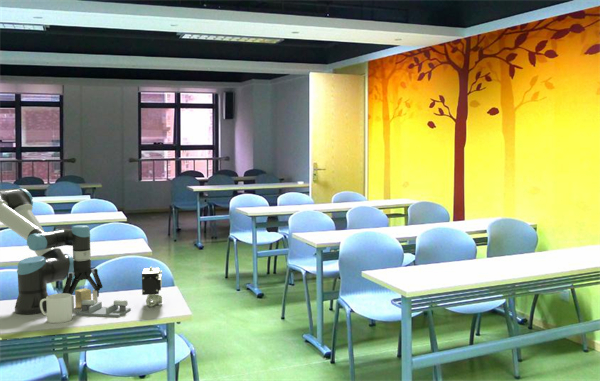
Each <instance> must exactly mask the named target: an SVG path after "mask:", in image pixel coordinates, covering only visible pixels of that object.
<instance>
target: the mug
mask: <svg viewBox="0 0 600 381" xmlns="http://www.w3.org/2000/svg"><path fill="white" fill-rule="evenodd" d="M72 295H73V294H72ZM72 295H71V294H68V293H63V292H62V293H54V294H50V295H49V294H48V296H47V297H46V299H42V300H41V301H40V309H41V313H42V315H44V316H46V321H47V323H49V324H63V323H67V322H70V321H72V319H73V310H72ZM43 301H46V306H47V311H45V312H44V310H43V307H42V303H43Z"/></svg>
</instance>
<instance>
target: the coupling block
mask: <svg viewBox="0 0 600 381" xmlns="http://www.w3.org/2000/svg"><path fill="white" fill-rule="evenodd" d="M74 294H75V295H74V297H75V299H74V300H75V301H74V302H75V308H76V309H78V310H81V306H83V305H82V304H81V302H82V300H92V290H91V289H89V288H86V287H84V288H81V289H80V288H79V289H75V290H74Z"/></svg>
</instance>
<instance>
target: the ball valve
mask: <svg viewBox="0 0 600 381" xmlns="http://www.w3.org/2000/svg"><path fill="white" fill-rule="evenodd" d="M162 275H163V270H160V267H153V266H150V267H143V270H142V273H141V293H142V294H141V295H142V296H146V295H147V297H146V299H145V303H146V306H148V307H155V306H156V305H157V306H159V305H161V304H162V303H163V295H160V291H161V290H162V285H163V276H162Z"/></svg>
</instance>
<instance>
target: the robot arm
mask: <svg viewBox="0 0 600 381" xmlns="http://www.w3.org/2000/svg"><path fill="white" fill-rule="evenodd" d="M33 204H34V201H33V196H32V194H31V193H30V191H28V190H27V189H25V188H23V187H22V188H19V187H14V188H7V189H3V188H2V189H0V223H1V224H3V225H5V226H6V227H7V228H8V229H10V230H11V231H12V232H14V233H16V234H17V235H18V236H19V237H21V238H23V239H24V240H25V241H26V245H27V247H28V249H29V250H30V251H34V253H35V254H36V256H32V257H27V258H23V259H21V260H20V261H19V262H18V263H17V270H16V272H17V273H16V274H17V287H18V288H17V289H18V290H17V293H18V295H17V298H16V299H17V300H16V303H15V305H14V313H15V314H18V315H33V314H34V315H35V314H41V313H42V312H41V309H40V301H41V300H42V299H46V297H47V296H49V294H48V290H47V287H48V285H47V284H53V283H56V282H59V281H64V280H65V283H64V284H65V285H64V288H63V290H62V291H63V292H62V293H68V294H71V295H72V311H74V310H75V301H74V300H75V299H74V297H75V295H74V293H75V290H76V288H77V285H79V282H80V281H83V280H87V281H88V282H89V284H90V285H91V287H92V300H95V301H96V303H98V301H99V300H98V297H99V296H100V290H101V289H102V288H104V287H103V284H102V281H101V278H100V276H99V272H98V271H99V270H98V268H95V267H94V268H92V260H91V231H90V226H88V225H86V224H85V225H83V224H81V225H80V224H79V225H74V226H72V228H71V229H70V228H56V229H54V230H50V231H45V229H44V228H43V227H42V225H41V223H40V222H39V220H38V219H37V217H36V216H35V215H34V213H33V209H34V208H33ZM63 246H67V247H68V246H70V247H71V246H72V255H71V254H68V253H64V252H63V251H62V249H61V248H59V247H63ZM91 274H92V275H91ZM92 277H93V278H94V280H93V278H92ZM42 307H43V310H44V312H45V313H46V312H47V306H46V301H43V303H42Z"/></svg>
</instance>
